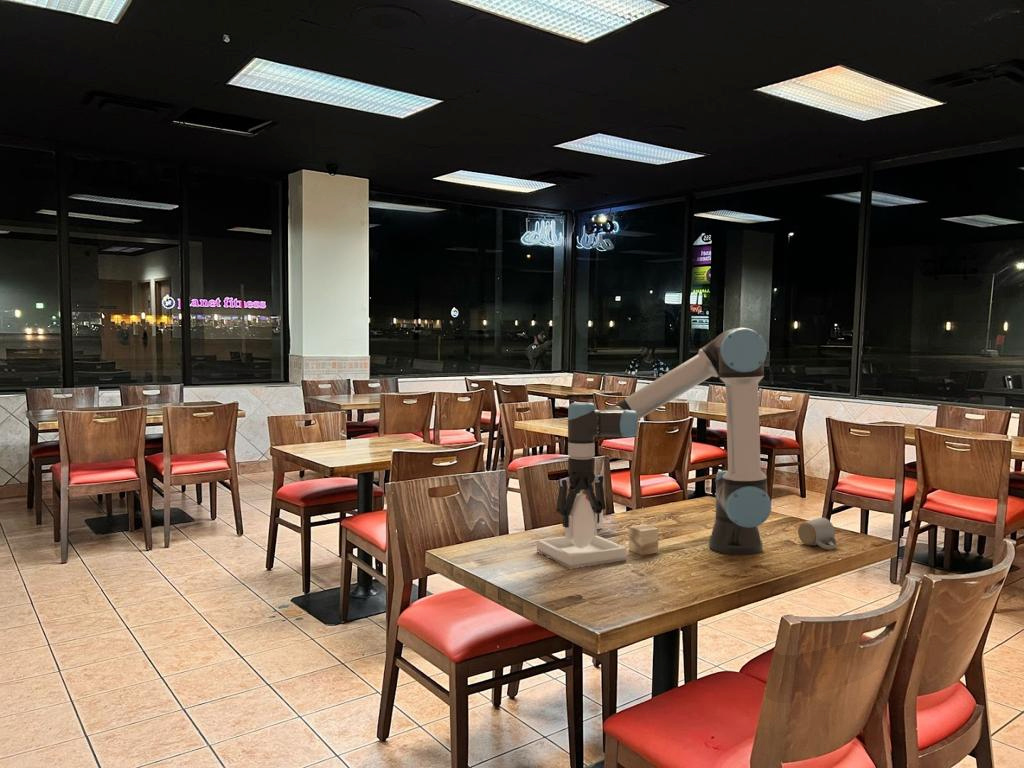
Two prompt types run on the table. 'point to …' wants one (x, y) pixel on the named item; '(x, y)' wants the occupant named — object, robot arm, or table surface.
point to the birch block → (643, 539)
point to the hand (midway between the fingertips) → (581, 536)
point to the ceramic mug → (818, 533)
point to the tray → (581, 551)
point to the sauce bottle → (582, 521)
